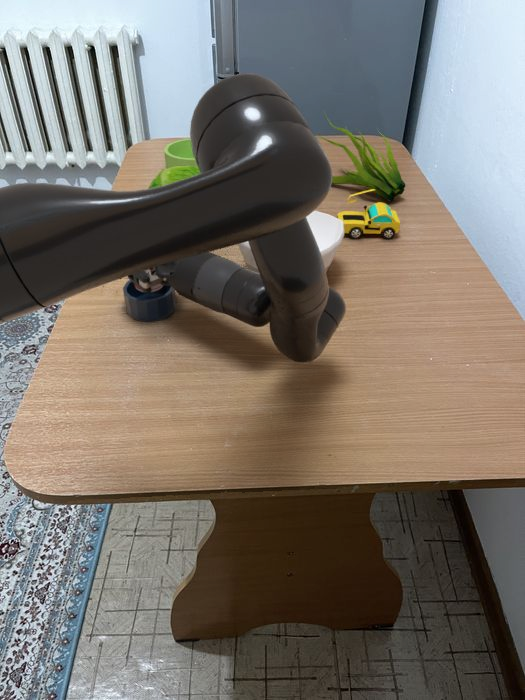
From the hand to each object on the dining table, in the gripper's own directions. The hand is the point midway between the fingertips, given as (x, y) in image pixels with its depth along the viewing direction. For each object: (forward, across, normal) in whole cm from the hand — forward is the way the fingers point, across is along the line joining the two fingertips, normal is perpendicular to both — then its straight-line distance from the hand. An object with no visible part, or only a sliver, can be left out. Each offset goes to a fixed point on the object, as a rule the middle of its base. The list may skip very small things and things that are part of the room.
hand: (132, 247), depth 89 cm
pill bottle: (-3, 0, +6) cm, 7 cm away
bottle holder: (-2, 0, +10) cm, 11 cm away
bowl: (-15, -22, +11) cm, 29 cm away
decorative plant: (-1, -63, +11) cm, 63 cm away
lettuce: (+12, -24, +10) cm, 29 cm away
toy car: (-18, -46, +11) cm, 50 cm away
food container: (+26, -49, +10) cm, 57 cm away
